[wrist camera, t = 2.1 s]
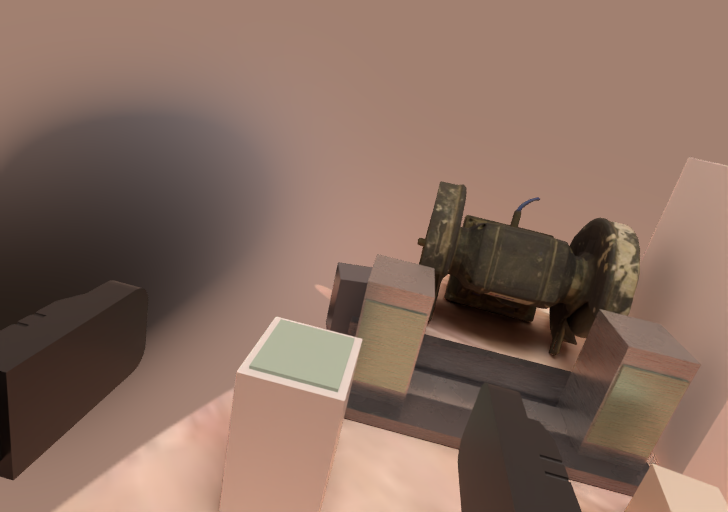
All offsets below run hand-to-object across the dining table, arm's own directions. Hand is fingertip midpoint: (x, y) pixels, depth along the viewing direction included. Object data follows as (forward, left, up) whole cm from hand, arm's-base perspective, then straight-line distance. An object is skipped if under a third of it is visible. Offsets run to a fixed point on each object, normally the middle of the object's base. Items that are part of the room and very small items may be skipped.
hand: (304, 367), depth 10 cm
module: (+2, -12, -18) cm, 22 cm away
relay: (+1, -32, -18) cm, 37 cm away
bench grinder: (-15, -44, -18) cm, 50 cm away
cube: (-39, -32, -19) cm, 54 cm away
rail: (-12, -24, -18) cm, 32 cm away
